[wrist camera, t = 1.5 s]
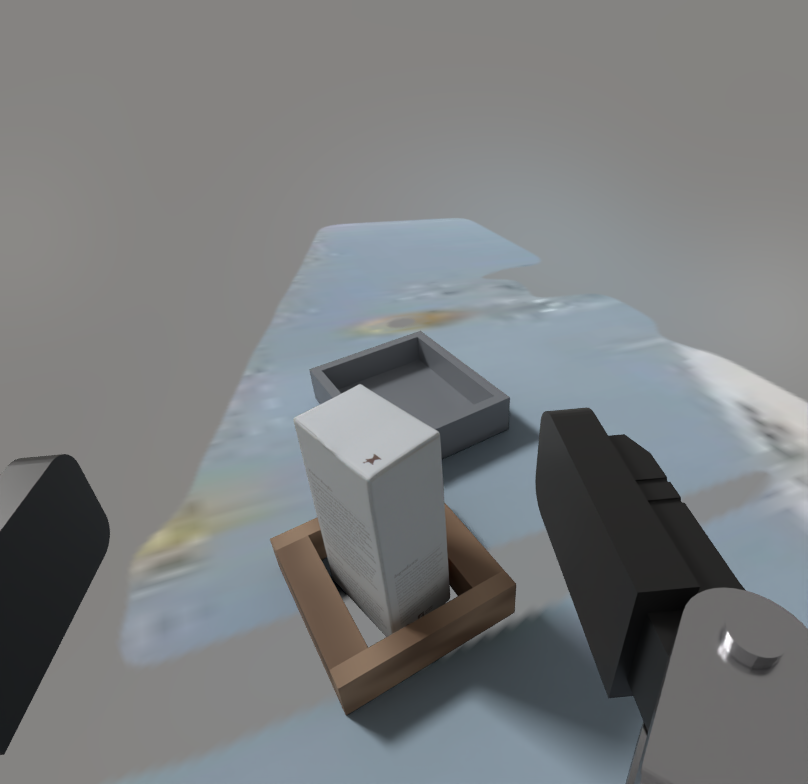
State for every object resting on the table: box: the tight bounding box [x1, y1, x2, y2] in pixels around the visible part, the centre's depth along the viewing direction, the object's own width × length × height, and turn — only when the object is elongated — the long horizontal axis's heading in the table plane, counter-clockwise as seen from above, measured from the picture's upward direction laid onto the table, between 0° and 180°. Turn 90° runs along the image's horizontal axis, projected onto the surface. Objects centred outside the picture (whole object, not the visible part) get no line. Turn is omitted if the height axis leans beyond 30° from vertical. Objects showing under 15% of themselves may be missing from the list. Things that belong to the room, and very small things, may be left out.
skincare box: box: [294, 384, 450, 637], centre depth 27 cm, size 6×4×12 cm
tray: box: [309, 331, 510, 459], centre depth 43 cm, size 11×13×3 cm
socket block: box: [270, 503, 516, 715], centre depth 30 cm, size 10×10×2 cm
